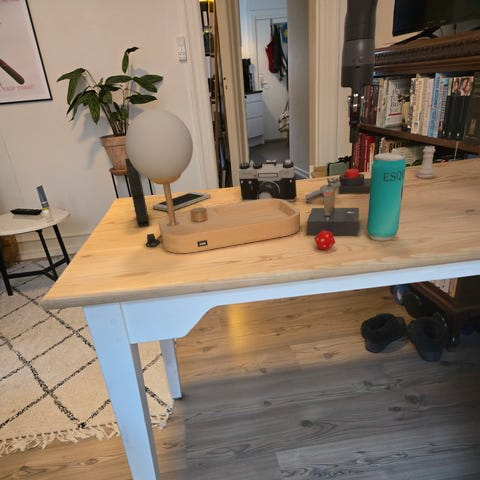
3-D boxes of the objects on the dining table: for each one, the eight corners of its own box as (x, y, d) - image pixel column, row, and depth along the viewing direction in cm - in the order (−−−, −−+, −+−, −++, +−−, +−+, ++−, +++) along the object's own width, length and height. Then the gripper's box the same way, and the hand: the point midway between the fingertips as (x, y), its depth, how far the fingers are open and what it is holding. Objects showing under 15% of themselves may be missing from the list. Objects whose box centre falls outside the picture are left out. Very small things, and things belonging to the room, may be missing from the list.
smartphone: (210, 196, 116) (210, 193, 116) (169, 211, 107) (169, 208, 106) (193, 194, 121) (193, 191, 120) (152, 208, 111) (152, 205, 111)
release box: (377, 184, 114) (378, 171, 112) (378, 192, 106) (379, 179, 104) (339, 185, 116) (340, 172, 114) (337, 193, 109) (338, 180, 107)
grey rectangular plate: (327, 208, 88) (328, 185, 86) (334, 208, 88) (335, 185, 86) (323, 216, 84) (324, 193, 81) (330, 216, 83) (331, 193, 81)
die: (326, 237, 79) (318, 224, 76) (340, 240, 77) (333, 227, 74) (316, 252, 79) (308, 239, 76) (330, 256, 76) (323, 243, 73)
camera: (235, 212, 106) (229, 175, 99) (245, 193, 114) (240, 157, 107) (290, 213, 102) (288, 174, 95) (298, 193, 109) (296, 156, 103)
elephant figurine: (306, 197, 109) (339, 183, 106) (313, 217, 107) (346, 203, 105) (298, 180, 99) (334, 164, 97) (305, 201, 98) (342, 185, 95)
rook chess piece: (436, 175, 116) (441, 145, 112) (429, 179, 114) (434, 148, 109) (420, 174, 119) (424, 145, 115) (414, 177, 116) (418, 147, 112)
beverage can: (402, 240, 77) (412, 156, 70) (372, 243, 77) (379, 160, 69) (390, 230, 82) (398, 151, 75) (362, 233, 82) (367, 154, 74)
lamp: (280, 211, 99) (276, 93, 86) (308, 233, 85) (308, 95, 72) (143, 233, 94) (117, 110, 80) (148, 261, 79) (117, 116, 66)
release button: (358, 175, 111) (359, 168, 110) (358, 178, 108) (358, 171, 107) (345, 175, 112) (345, 169, 111) (344, 179, 109) (344, 172, 108)
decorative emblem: (149, 227, 97) (135, 161, 89) (139, 229, 97) (124, 162, 89) (148, 214, 107) (135, 153, 99) (138, 215, 107) (125, 154, 99)
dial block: (358, 219, 90) (359, 204, 88) (357, 235, 81) (358, 220, 80) (307, 218, 93) (307, 205, 91) (301, 235, 84) (301, 220, 83)
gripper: (342, 65, 103) (339, 139, 112) (340, 64, 92) (337, 147, 101) (374, 62, 101) (368, 138, 110) (375, 61, 90) (369, 146, 99)
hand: (353, 142), depth 105 cm, fingers closed
